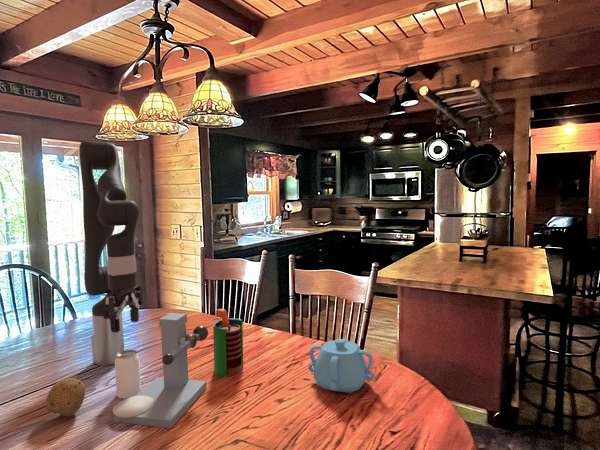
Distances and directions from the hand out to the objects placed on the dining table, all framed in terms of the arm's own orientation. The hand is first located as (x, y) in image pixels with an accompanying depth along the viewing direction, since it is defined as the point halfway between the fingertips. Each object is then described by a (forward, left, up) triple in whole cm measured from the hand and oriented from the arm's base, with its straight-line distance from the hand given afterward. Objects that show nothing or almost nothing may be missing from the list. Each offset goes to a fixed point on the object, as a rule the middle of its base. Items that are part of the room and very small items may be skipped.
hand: (125, 326), depth 111 cm
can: (0, 0, -20) cm, 20 cm away
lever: (+19, 0, -6) cm, 20 cm away
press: (+12, -4, -20) cm, 24 cm away
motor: (+23, +19, -20) cm, 36 cm away
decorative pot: (+60, +16, -20) cm, 65 cm away
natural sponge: (-9, -13, -20) cm, 26 cm away
